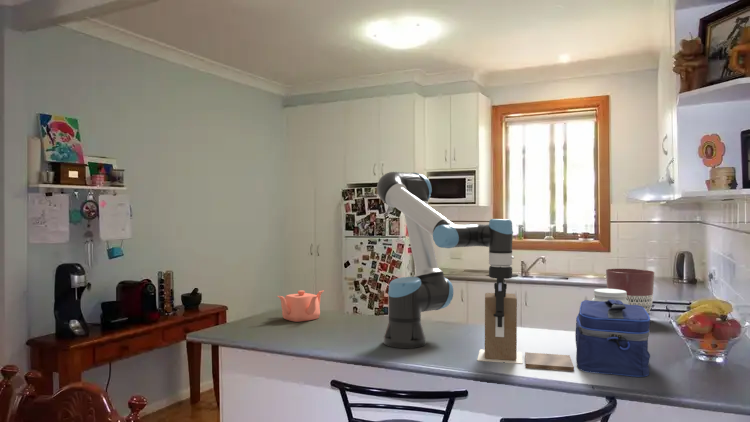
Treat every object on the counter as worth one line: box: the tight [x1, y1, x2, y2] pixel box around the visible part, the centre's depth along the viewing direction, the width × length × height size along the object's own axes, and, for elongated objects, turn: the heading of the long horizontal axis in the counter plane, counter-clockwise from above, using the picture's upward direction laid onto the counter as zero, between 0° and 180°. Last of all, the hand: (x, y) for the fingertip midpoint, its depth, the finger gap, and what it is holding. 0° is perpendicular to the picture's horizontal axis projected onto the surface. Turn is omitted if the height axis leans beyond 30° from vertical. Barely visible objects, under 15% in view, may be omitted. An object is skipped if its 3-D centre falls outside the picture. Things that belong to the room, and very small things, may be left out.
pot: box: [277, 289, 325, 323], centre depth 242 cm, size 18×17×12 cm
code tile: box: [477, 348, 523, 365], centre depth 182 cm, size 14×14×1 cm
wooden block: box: [484, 292, 518, 360], centre depth 182 cm, size 10×10×20 cm
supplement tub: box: [591, 288, 629, 305], centre depth 206 cm, size 13×13×18 cm
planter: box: [605, 268, 655, 314], centre depth 244 cm, size 20×20×21 cm
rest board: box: [524, 351, 575, 372], centre depth 174 cm, size 14×14×1 cm
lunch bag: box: [574, 299, 651, 378], centre depth 173 cm, size 31×21×20 cm
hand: (500, 333), depth 182 cm, fingers closed on wooden block, 10 cm apart
